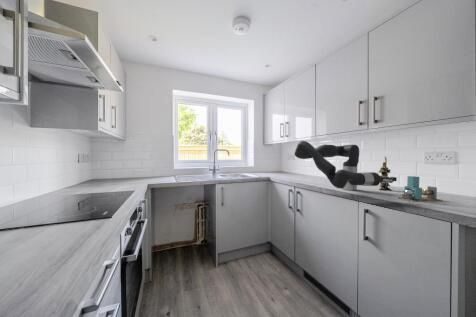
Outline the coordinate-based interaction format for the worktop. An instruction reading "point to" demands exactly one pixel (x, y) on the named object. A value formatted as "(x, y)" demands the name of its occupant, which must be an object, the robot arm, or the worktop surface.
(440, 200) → the board
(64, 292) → the worktop surface
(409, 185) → the sleeve
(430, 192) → the pipe
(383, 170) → the figurine
